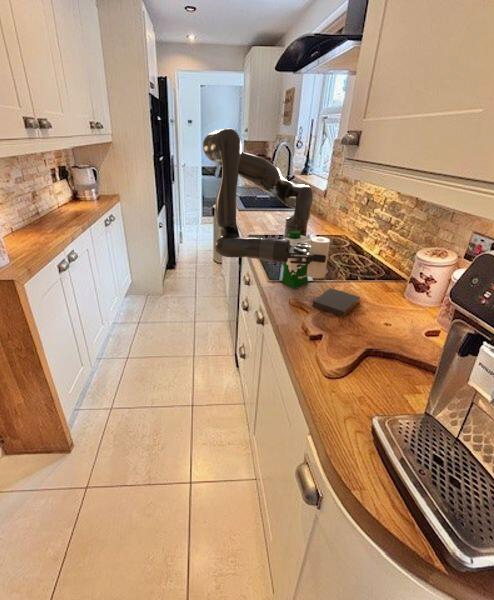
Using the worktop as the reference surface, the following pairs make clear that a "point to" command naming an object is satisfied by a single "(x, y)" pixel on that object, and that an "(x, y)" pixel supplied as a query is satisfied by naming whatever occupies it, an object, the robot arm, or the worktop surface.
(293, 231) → the soya milk
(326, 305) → the slate board
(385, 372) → the worktop surface
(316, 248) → the paper roll
